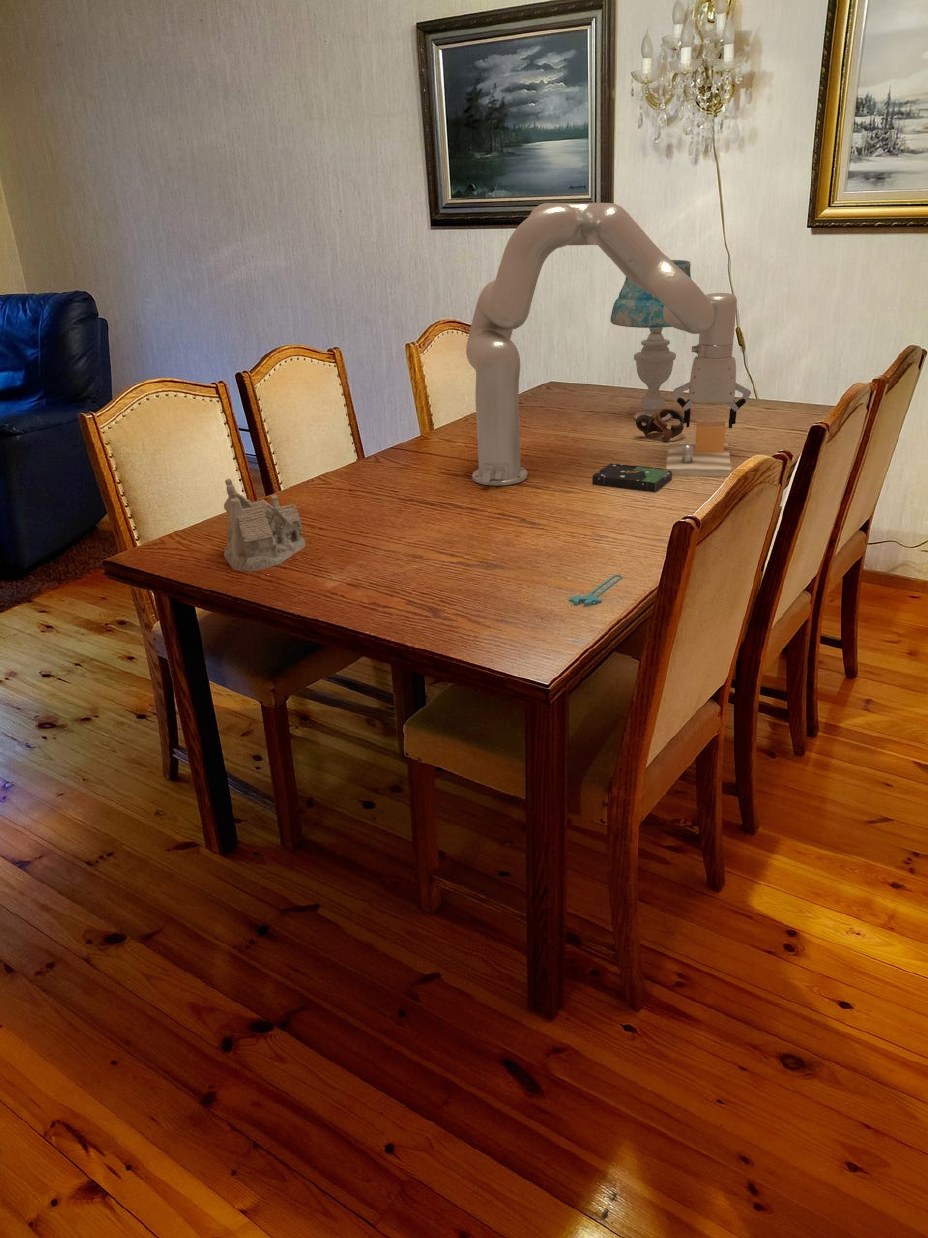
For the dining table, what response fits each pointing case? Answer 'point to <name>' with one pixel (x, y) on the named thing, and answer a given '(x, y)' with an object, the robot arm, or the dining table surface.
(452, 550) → the dining table surface
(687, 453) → the steel post
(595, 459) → the dining table surface
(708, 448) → the mustard wooden cube
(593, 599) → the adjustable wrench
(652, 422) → the brown wheeled mechanism
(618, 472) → the disk drive
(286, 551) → the ceramic cottage
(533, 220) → the robot arm
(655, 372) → the table lamp
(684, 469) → the birch board
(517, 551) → the dining table surface
